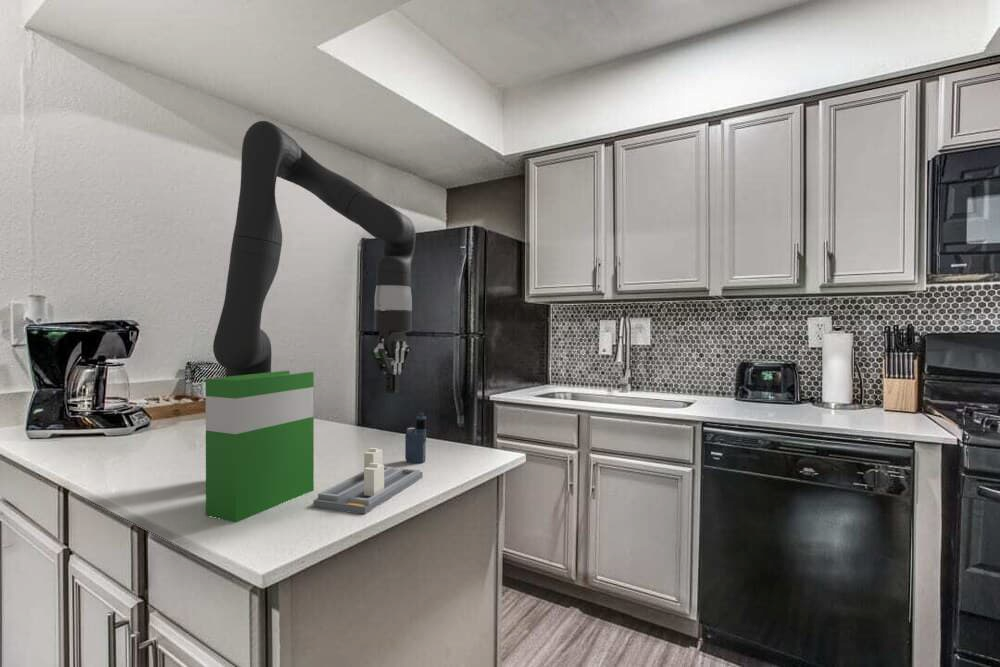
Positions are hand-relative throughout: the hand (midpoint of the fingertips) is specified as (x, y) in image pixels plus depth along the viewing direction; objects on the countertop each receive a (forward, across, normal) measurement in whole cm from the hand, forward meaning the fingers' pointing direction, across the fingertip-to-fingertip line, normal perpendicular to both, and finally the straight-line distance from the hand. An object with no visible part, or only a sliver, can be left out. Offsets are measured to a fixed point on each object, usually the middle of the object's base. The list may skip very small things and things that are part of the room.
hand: (392, 392), depth 100 cm
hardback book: (+20, +15, -18) cm, 31 cm away
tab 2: (+18, +8, +1) cm, 20 cm away
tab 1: (+18, -2, -6) cm, 19 cm away
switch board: (+20, +3, -2) cm, 20 cm away
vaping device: (+20, -19, -4) cm, 28 cm away
